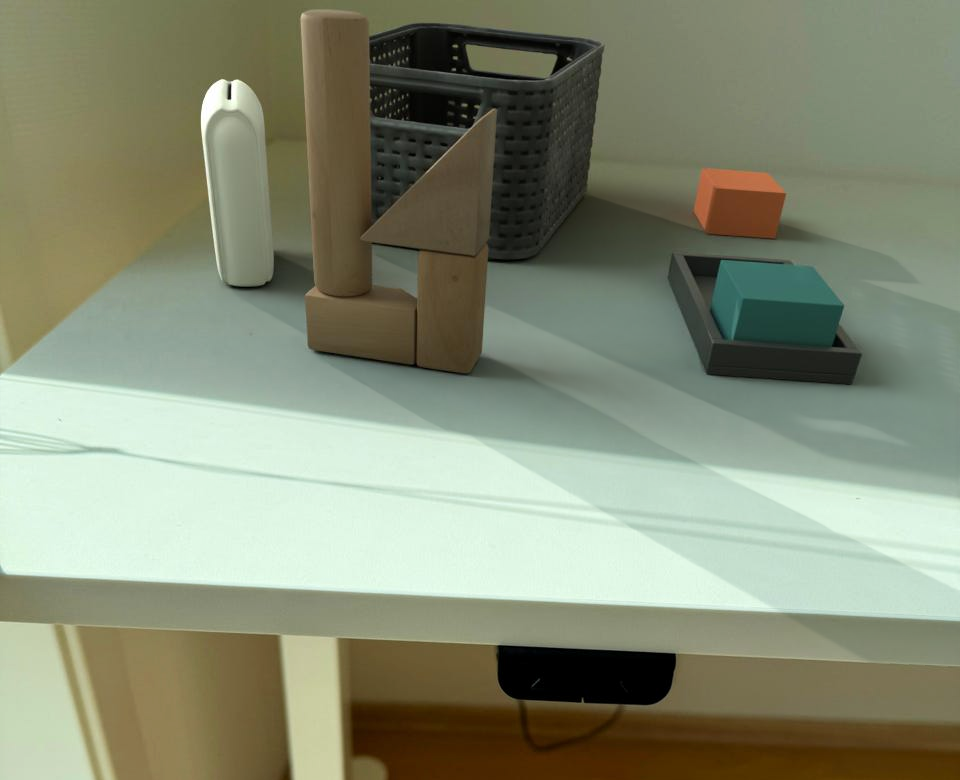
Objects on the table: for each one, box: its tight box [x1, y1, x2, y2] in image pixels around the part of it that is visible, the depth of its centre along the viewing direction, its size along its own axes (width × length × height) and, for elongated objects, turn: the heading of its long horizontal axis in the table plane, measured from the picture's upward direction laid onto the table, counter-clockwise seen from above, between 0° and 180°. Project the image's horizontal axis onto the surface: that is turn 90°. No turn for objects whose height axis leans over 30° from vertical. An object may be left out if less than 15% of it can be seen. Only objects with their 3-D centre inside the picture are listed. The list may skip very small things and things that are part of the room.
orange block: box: [693, 167, 787, 240], centre depth 88 cm, size 6×8×4 cm
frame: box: [666, 251, 863, 385], centre depth 67 cm, size 20×10×2 cm, turn 178°
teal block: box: [710, 260, 845, 347], centre depth 62 cm, size 6×8×4 cm
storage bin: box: [369, 22, 605, 261], centre depth 83 cm, size 29×19×13 cm
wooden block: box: [300, 8, 497, 375], centre depth 54 cm, size 4×11×18 cm, turn 77°
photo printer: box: [200, 78, 275, 287], centre depth 67 cm, size 10×4×12 cm, turn 11°
